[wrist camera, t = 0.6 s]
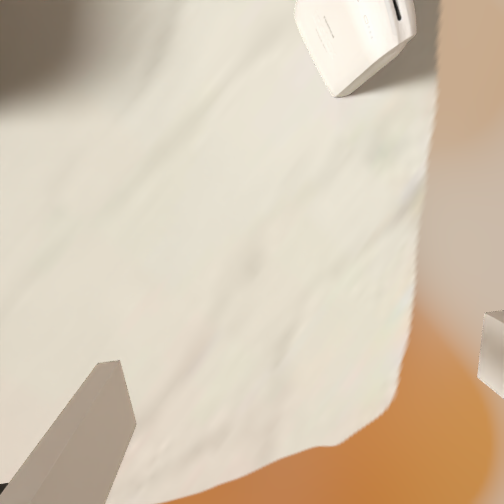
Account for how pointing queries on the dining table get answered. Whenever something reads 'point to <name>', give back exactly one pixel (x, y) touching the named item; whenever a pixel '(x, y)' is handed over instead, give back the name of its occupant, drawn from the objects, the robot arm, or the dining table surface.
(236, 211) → the dining table surface
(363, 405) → the dining table surface
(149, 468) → the dining table surface
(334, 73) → the photo printer
